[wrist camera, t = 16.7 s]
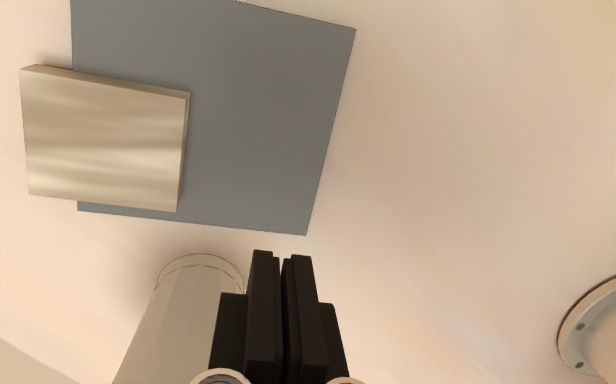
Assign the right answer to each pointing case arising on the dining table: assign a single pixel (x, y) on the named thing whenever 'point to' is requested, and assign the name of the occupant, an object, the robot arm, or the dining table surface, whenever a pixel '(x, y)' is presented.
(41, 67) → the tile
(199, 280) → the cup
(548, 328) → the dining table surface
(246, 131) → the mat
